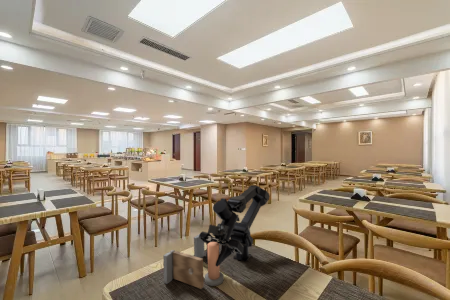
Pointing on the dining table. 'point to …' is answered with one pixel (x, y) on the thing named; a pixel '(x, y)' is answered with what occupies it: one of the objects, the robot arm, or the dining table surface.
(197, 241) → the door frame
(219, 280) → the door stop
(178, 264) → the door
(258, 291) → the dining table surface
